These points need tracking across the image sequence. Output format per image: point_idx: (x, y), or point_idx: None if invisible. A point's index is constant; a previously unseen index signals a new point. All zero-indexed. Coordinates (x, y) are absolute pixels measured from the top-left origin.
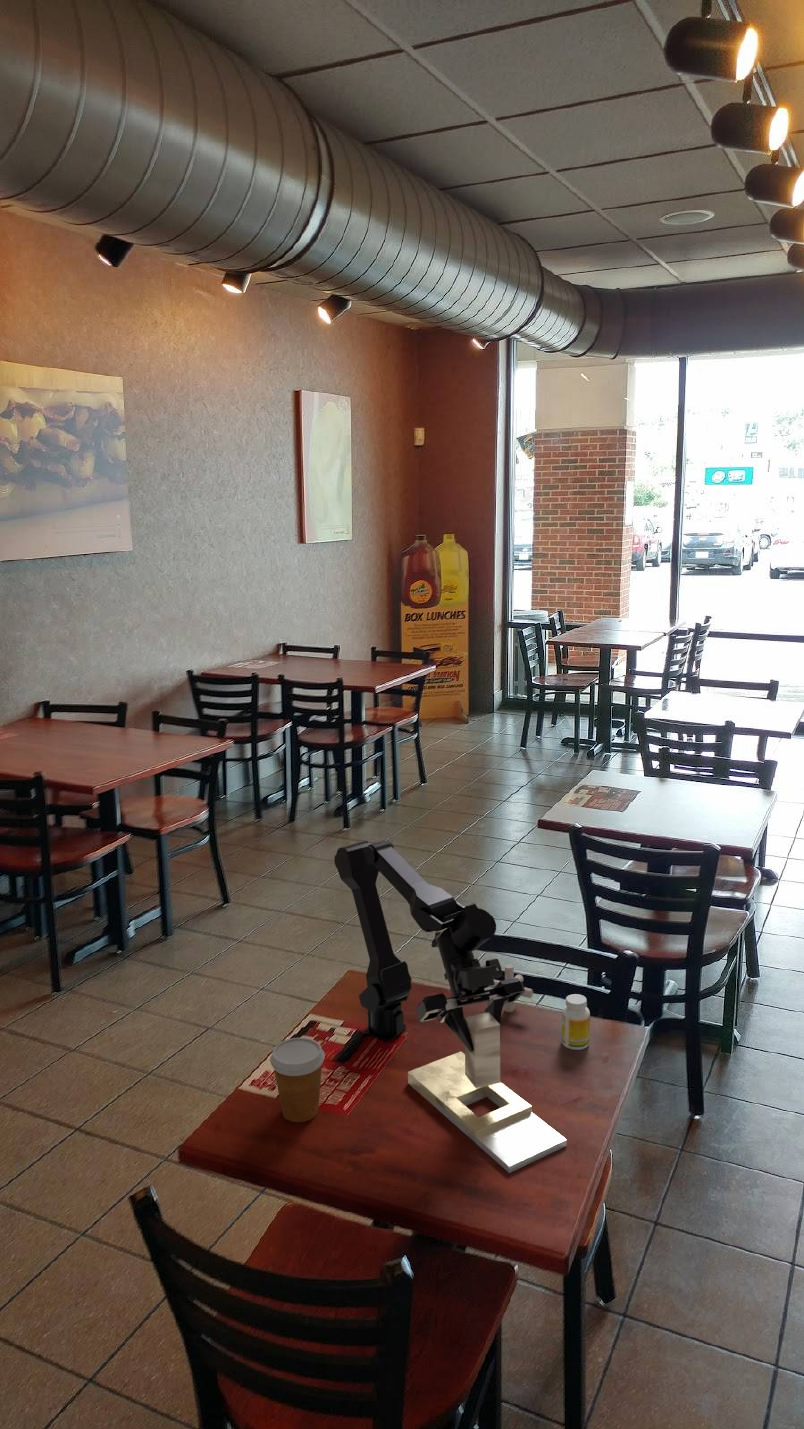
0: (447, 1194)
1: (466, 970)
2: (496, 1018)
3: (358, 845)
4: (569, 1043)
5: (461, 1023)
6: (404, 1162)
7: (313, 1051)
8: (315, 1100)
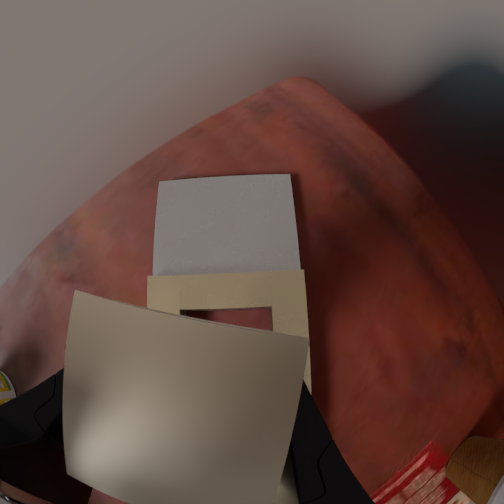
0: (392, 196)
1: None
2: (53, 401)
3: None
4: (7, 388)
5: (333, 485)
6: (422, 293)
7: None
8: (477, 449)
